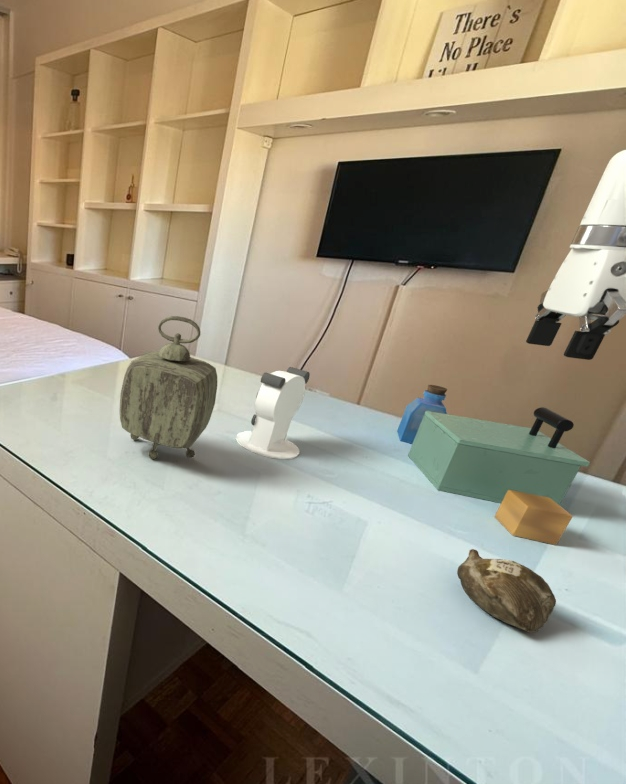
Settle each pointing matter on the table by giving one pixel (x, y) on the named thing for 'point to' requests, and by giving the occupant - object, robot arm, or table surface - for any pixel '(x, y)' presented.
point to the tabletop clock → (168, 395)
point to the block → (533, 517)
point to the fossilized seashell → (507, 591)
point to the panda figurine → (275, 414)
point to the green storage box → (485, 468)
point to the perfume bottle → (421, 412)
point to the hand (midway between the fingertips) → (556, 350)
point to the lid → (512, 435)
